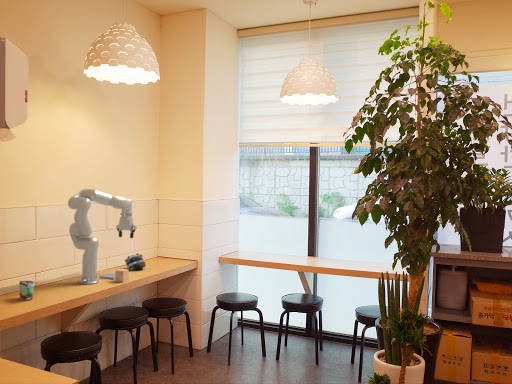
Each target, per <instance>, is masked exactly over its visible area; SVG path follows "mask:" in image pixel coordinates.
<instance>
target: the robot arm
mask: <svg viewBox="0 0 512 384" xmlns="http://www.w3.org/2000/svg"><path fill="white" fill-rule="evenodd" d="M92 202H93V203H96V204H100V205H103V206H107V207H108V206H109V207H112V208H114V209H117V210H118V209H119V210H120V209H121V212H120V217H119V222H118V224H117V225H116V226H115V227H116V230H117V232H118V237H119V238H122V237H123V231H129V232H130V233H129V234H130V235H129V238H130V239H133V238H134V233H135V232H136V230H137V228H138V227H137V226H136V225H134V219H133V211H132V210H133V200H132V199H131V198H125V197H122V196H119V195H113V194H111V193H107V192H104V191H102V190H99V189H94V188H84V189H82V190H80V191H78V192H77V193H76V194H73V195H72V196H71V197H70V198H69V199H68V201H67V206H68V207H69V208H70V209H72V210H76V211H75V213H74V215H73V221H74V222H72V223H71V224H70V226H69V229H68V231H69V236H70V237H71V241H72V242H73V243H72V244H73V245H74V247H75V248H76V249H78V250H82V251H84V252H83V254H82V260H81V264H82V265H81V267H82V270H81V272H82V274H81V275H82V276H81V277H80V278H79V279H78V280H77V282H78V283H80V284H81V285H93V284H98V283H99V282H100V279H98V277H97V276H98V249H99V246H100V245H99V244H100V243H99V242H100V241H99V240H98V238H96V237H94V236H92V233H93V230H92V227H91V225H90V221H89V218H88V212H89V209H90V208H91V205H92Z"/></svg>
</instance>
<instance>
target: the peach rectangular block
mask: <svg viewBox="0 0 512 384" xmlns="http://www.w3.org/2000/svg"><path fill="white" fill-rule="evenodd" d="M114 272H115V279H114V282H116V283H126V282H129V277H130V276H129V273H130V271H129V269H127V268H119V269H115V271H114Z"/></svg>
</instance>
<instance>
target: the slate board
mask: <svg viewBox="0 0 512 384" xmlns="http://www.w3.org/2000/svg"><path fill="white" fill-rule="evenodd" d="M99 278H100V279H108V280H115V273H112V272H110V273H109V272H108V273H107V274H106V273H105V274H102V275H100V276H99Z"/></svg>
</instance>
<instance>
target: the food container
mask: <svg viewBox="0 0 512 384" xmlns="http://www.w3.org/2000/svg"><path fill="white" fill-rule="evenodd" d="M18 285H19V299H21V300H23V301H25V302H29V301H32V300H33V298H34V297H33V296H34V287H35V286H36V285H35V282H34V281H33V280H19V282H18Z"/></svg>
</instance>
